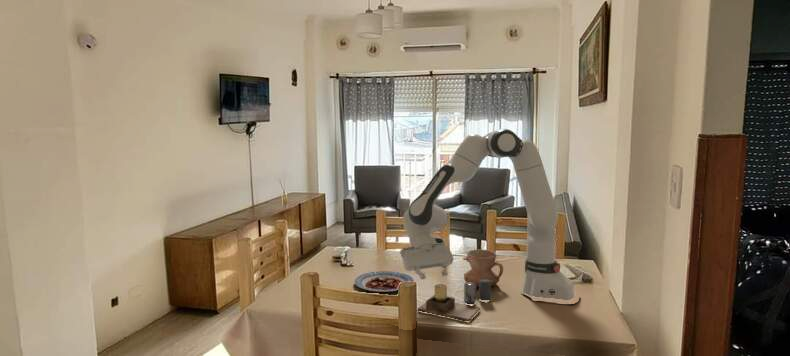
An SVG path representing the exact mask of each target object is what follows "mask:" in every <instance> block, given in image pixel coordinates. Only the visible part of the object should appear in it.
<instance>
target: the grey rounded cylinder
mask: <svg viewBox="0 0 790 356" xmlns="http://www.w3.org/2000/svg"><path fill="white" fill-rule="evenodd" d="M478 288H479V289H478V292H479V293H478V298H479V299H481V300H490V299H491V297H492V296H491V295H492V294H491V293H492V286H491V281H490V280H486V279H483V280H480V284H479V287H478ZM479 299H478V300H479Z"/></svg>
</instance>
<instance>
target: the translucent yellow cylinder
mask: <svg viewBox="0 0 790 356" xmlns="http://www.w3.org/2000/svg"><path fill="white" fill-rule="evenodd" d="M447 290H448V289H447V285H446V284H444V283H443V284H442V283H441V284H436V285H434V295H435V302H439V303H444V304H445V303H446V302H447V297H448V296H447V294H448V293H447Z"/></svg>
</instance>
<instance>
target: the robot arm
mask: <svg viewBox="0 0 790 356" xmlns="http://www.w3.org/2000/svg"><path fill="white" fill-rule="evenodd" d="M486 157H491V158H498V159H499V158H501V159H502V158H509V160H510V161H511V163H512V165H513V169H514V172H515V177H516V179H517V182H518V185H519V190H520V193H521V196H522V199H523V203H524V207H525V210H526V213H527V217H526V218H527V219H526V221H527V224H526V225H527V228H526V234H527V235H526V237H527V238H526V259H525V261H524V273H525V276H524V281H523V285H522V289H521V291H522V290H523V292H524V293H526V294H528V295H530V296H535V297H543V298H555V299H563V300H570V299H572V298H573V297H574V292H575V287H574V283H573V281H572V280H571V279H570V278H569V277H568V276H566V275H565V274H564V273H563V272H562V271H561V262H557V261H556V245H557V244H556V243H557V242H556V241H557V238H556V225H557V223H558V220H559V213H558V208H557V205H556V203H555V198H554V196H553V192H552V190H551V189H552V188H551V186H550V184H549V180H548V177H547V173H546V169H545V167H544V164H543V161H542V157H541V155H540V152H539V150H538V149H537V146H536V144H535V142H533V141H532V140H530V139H521V138H520V137H519V136H518V135H517V134H516V133H515V131H514V132H513V131H512V130H510V129H507V128H500V129H495V130H493V131H491V132H489V133H487V134H485V135H483V136H481V135H479V134H478V133H477V134H476V133H472V134H471V133H470V134H469V135H467V136H466V137H465V138H464V139H463V141H462V142H461V143H460V144H459V146H458V147H457V149H456V150H455V152H454V154H453V156H452V157H451V158H450V159H449V161H448V162H446V164H444V165H443V166H441V167H440V168H439V169H438V170H437V172H436V173H435V174H434V176H433V177H432V178H431V180H429V182H428V184H427V185H426V186H425V188H424V189H423V190H422V192H421V193H420V194H419V195H418V196H417V197H416V198H414V200H412V202H411V203H410V205H409V208H408V209H407V210H405V212H404V213H403V216H402V223H403V227H404V230H405V234H406V236H407V237H408V238H409V244H410V246H408V247H402V248H401V249H400V251H399V254H400V257H401V258H402V264H403V267H404V270H405V271H407V272H411V271H414V273H415V274H417V276H418V277H419V279H420V280H426V278H427V277H426V274H425V272H422V271H421V270H425V269H430V268H439V267H441V269H443V270H442V271H441V275H442V277H447V276H448V271H447V269H448V266H450V265H452V263H454V256H453V254H452V252H451V249H450V247H449V246H448V245H446V240H445V239H444V238H440V237H436V236H432V235H431V234H433V233H436V232H439V231H441V230H443V229H444V228H445V227H446V225H447V223H448V218H449V215H448V213H447V211H446V210H445V209H444V208H442V207H440V206H439V205H436V204H435V202H436V201H437V199H438V198H439V197H440V195H441V194H442V193H443V191H444V190H445V189H446V188H447V186H449V185H451V184H455V183H464V182H468V181H470V180H471V179H472V178H473V177H474V176H475V174H476V173H477V171H478V170H479V168H480V167H481V165H482V162H483V161H484V159H485V158H486Z"/></svg>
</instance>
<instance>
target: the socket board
mask: <svg viewBox="0 0 790 356" xmlns="http://www.w3.org/2000/svg"><path fill="white" fill-rule="evenodd" d="M455 301H456V299H455V297H451V296H447V302H446V303H445V304H444V303H439V302H435V294H434V295H432V296H431V297H430V298H428V299H427V300H426V301H425V302H424V303H423V304H421V305H420V306H418V307H417V312H418V311H422V312H427V313H432V314H436V315H441V316H445V317H450V318H454V319H458V320H462V321H470V320H471V318H472V317H473V316H474V315H475V314H476V313H477V312H478V311H479V310H480V311H481V307H479V306H476V305H475V306H470V305H465V304H464V303H461V302H460V303H458V302H455ZM471 321H472V320H471ZM471 321H470V322H471Z"/></svg>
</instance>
